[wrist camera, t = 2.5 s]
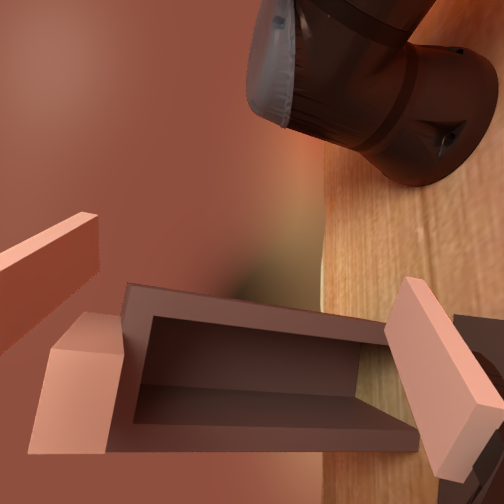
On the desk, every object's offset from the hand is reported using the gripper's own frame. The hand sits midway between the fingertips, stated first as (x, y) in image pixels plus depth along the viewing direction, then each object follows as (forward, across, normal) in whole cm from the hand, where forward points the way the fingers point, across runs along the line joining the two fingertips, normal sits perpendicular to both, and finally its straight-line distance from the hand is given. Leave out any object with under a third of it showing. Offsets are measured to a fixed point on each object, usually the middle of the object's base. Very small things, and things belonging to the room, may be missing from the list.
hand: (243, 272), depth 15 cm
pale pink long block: (+7, -9, -14) cm, 18 cm away
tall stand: (+21, +17, -21) cm, 34 cm away
